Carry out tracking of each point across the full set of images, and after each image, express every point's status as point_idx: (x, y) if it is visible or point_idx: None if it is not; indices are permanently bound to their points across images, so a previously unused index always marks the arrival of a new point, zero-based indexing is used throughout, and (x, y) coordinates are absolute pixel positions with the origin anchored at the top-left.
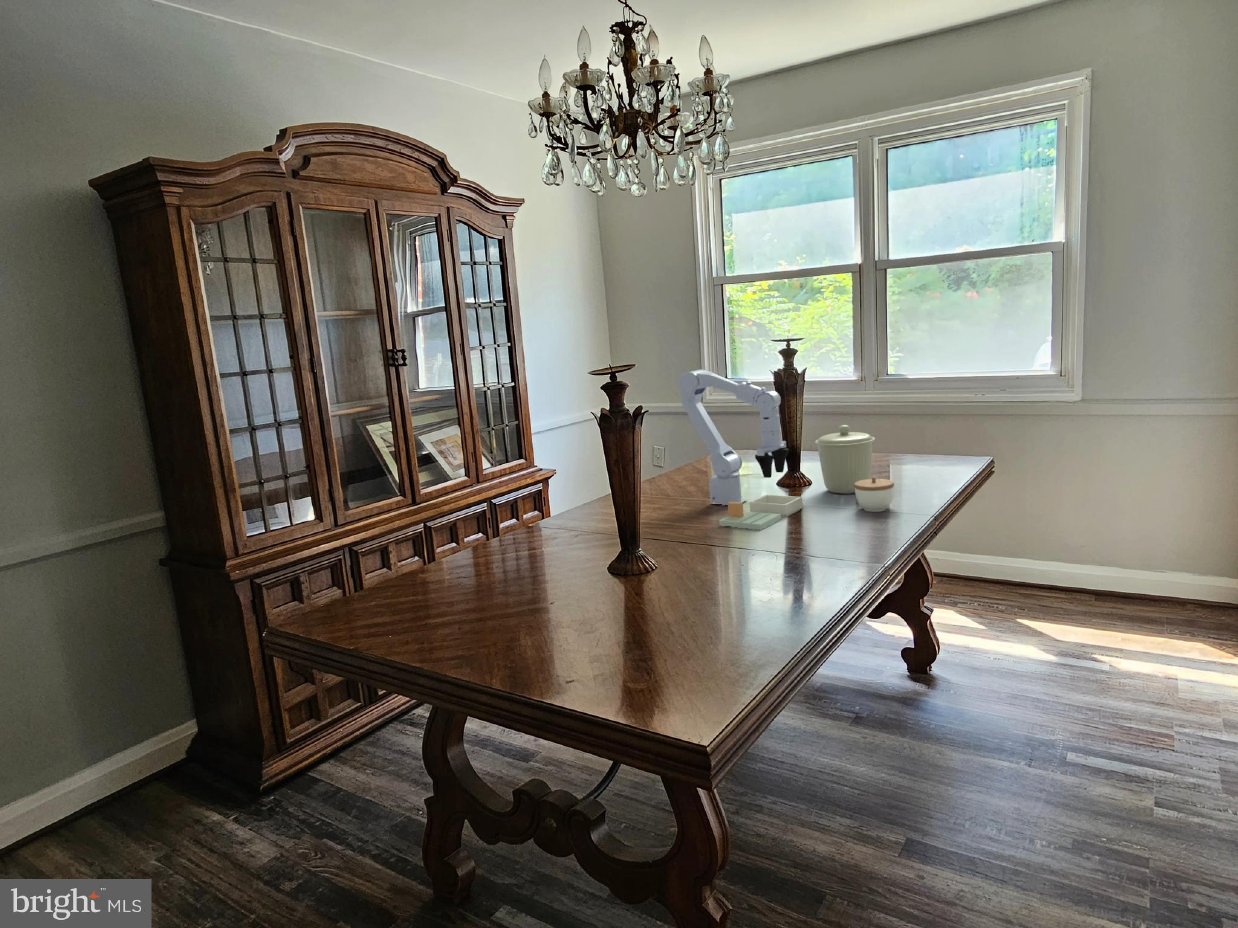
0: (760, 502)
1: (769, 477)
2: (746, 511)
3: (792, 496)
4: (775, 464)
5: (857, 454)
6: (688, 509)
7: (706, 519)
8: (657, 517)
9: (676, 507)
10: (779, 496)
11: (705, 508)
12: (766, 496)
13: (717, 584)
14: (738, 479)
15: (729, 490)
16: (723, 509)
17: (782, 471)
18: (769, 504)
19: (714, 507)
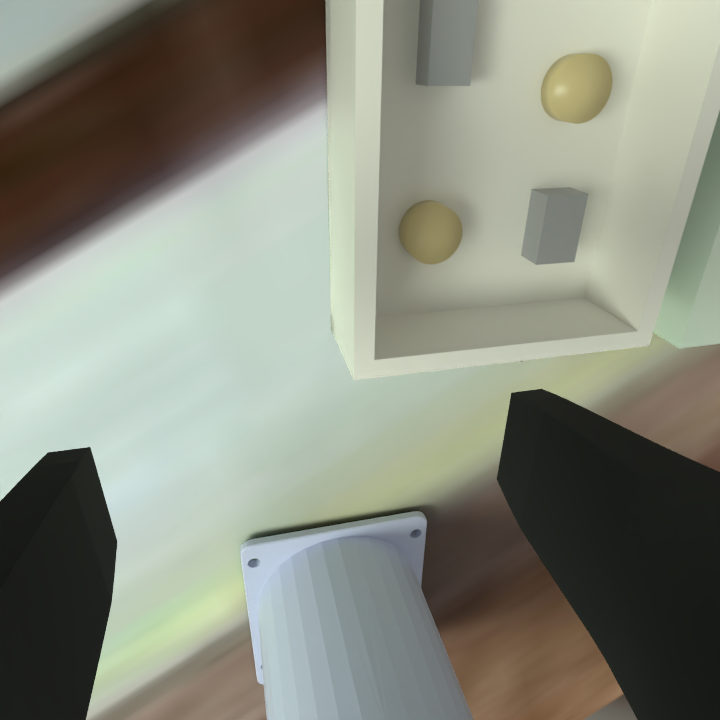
0: (483, 328)
1: (546, 396)
2: (699, 292)
3: (361, 17)
4: (85, 689)
5: None
6: (519, 650)
7: (715, 458)
8: None
9: (490, 709)
10: (376, 208)
11: (487, 607)
12: (380, 353)
13: None
14: (382, 715)
15: (438, 641)
16: (494, 521)
17: (78, 455)
18: (706, 126)
19: (457, 587)
